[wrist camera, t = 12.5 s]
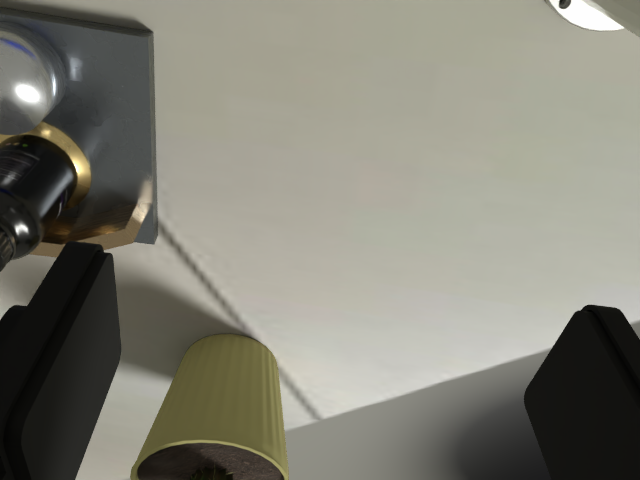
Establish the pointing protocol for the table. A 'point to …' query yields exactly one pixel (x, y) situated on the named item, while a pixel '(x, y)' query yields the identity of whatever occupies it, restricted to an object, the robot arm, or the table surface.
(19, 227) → the supplement bottle
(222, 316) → the table surface
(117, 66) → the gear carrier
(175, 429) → the potted cactus
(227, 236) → the table surface
